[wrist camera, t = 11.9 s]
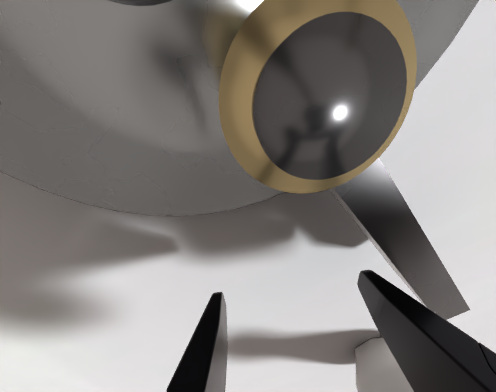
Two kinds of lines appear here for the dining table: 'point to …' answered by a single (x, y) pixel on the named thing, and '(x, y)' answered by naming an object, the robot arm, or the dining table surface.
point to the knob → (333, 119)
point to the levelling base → (142, 98)
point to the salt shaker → (378, 369)
